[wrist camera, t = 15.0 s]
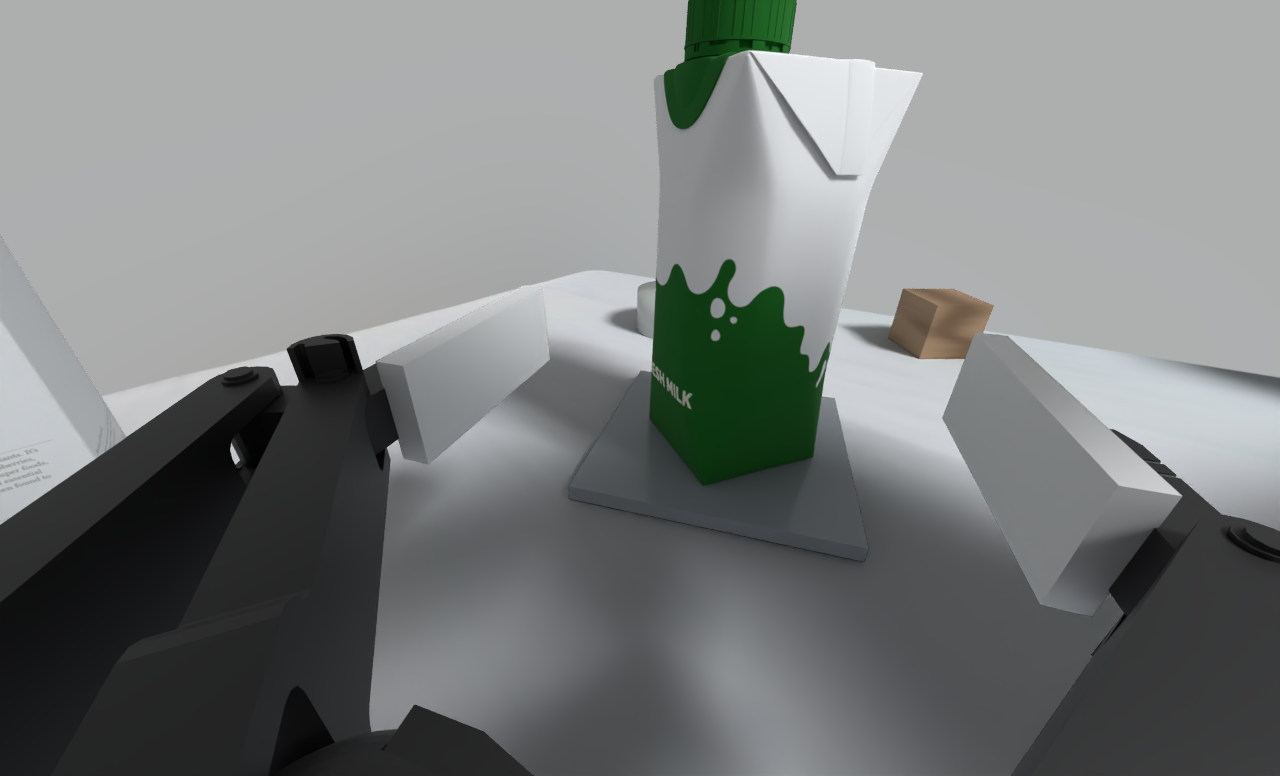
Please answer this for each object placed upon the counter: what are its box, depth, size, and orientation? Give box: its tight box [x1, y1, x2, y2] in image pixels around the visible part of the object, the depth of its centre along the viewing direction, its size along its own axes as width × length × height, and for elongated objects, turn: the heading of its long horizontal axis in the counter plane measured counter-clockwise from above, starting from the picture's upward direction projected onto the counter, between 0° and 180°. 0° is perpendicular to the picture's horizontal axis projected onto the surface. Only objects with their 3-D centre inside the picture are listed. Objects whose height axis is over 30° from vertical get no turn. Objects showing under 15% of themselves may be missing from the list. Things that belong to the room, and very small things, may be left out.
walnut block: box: [888, 289, 994, 359], centre depth 42 cm, size 5×5×5 cm
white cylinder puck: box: [637, 281, 656, 339], centre depth 45 cm, size 7×7×4 cm
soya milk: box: [649, 0, 923, 485], centre depth 22 cm, size 9×9×20 cm
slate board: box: [568, 371, 869, 562], centre depth 27 cm, size 14×14×1 cm
